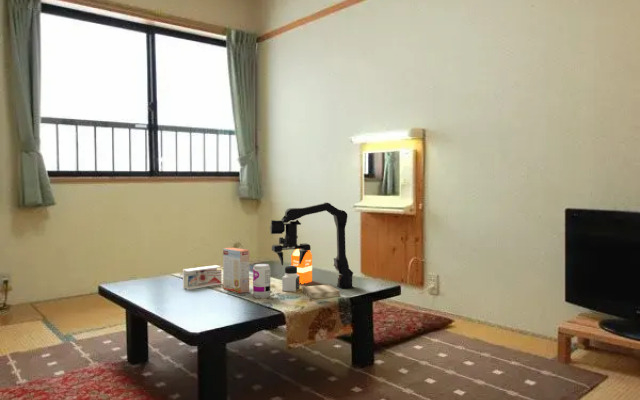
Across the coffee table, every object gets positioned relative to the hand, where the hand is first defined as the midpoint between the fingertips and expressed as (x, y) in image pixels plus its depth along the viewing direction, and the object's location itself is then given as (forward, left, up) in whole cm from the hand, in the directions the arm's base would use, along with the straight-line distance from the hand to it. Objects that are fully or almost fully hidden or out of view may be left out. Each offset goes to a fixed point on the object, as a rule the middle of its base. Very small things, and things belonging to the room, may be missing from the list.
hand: (291, 264), depth 247 cm
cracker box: (+26, -8, -13) cm, 30 cm away
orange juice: (-11, -16, -13) cm, 23 cm away
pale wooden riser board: (-11, +13, -13) cm, 21 cm away
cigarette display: (+40, -25, -13) cm, 49 cm away
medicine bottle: (0, 0, -13) cm, 13 cm away
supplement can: (+17, +8, -13) cm, 23 cm away
